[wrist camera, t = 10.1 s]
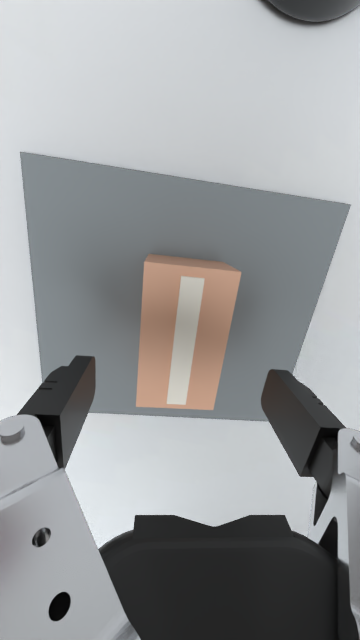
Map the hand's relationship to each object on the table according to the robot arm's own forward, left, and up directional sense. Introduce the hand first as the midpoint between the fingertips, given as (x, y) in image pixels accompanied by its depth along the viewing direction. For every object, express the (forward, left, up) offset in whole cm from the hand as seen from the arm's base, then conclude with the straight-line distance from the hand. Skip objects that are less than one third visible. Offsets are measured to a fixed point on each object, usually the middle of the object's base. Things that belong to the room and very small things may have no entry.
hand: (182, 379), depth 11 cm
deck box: (0, 0, -7) cm, 7 cm away
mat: (0, 0, -7) cm, 7 cm away
